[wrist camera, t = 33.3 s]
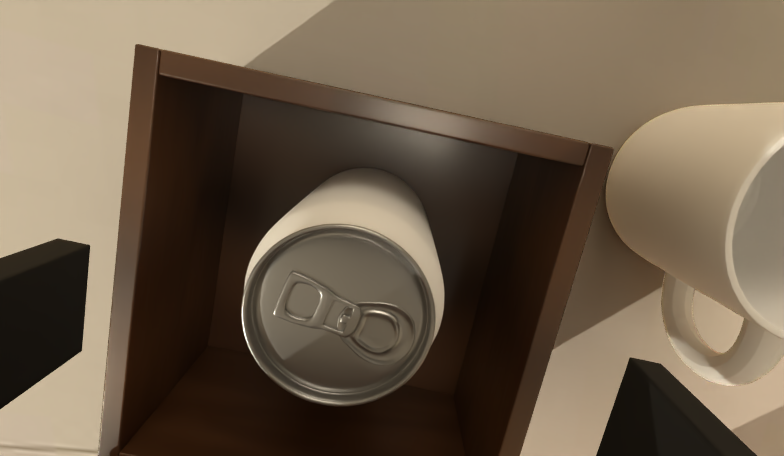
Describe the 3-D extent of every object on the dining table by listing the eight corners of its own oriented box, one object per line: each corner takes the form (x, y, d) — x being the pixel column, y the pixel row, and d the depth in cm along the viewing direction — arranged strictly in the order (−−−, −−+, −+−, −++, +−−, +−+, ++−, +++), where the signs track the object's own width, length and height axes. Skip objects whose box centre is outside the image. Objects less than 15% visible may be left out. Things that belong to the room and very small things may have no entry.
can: (396, 305, 27) (394, 451, 15) (285, 258, 26) (194, 370, 15) (448, 197, 26) (490, 265, 14) (332, 145, 25) (273, 170, 13)
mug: (712, 335, 28) (889, 459, 18) (567, 313, 28) (663, 426, 18) (782, 119, 25) (1035, 121, 15) (622, 93, 25) (771, 78, 15)
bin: (235, 71, 25) (134, 43, 16) (534, 136, 26) (615, 148, 16) (197, 348, 28) (95, 466, 19) (462, 401, 29) (493, 542, 19)
